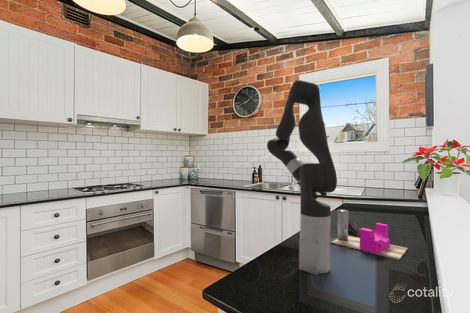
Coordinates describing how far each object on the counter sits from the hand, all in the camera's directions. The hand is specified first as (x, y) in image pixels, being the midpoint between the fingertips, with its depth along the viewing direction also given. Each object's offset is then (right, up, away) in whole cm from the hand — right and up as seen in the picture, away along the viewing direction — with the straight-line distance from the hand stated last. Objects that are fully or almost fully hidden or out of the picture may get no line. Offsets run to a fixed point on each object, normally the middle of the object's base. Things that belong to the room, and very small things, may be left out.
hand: (321, 197), depth 120 cm
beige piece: (+14, -17, -13) cm, 26 cm away
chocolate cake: (+16, -18, +4) cm, 24 cm away
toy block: (+17, -17, -15) cm, 28 cm away
